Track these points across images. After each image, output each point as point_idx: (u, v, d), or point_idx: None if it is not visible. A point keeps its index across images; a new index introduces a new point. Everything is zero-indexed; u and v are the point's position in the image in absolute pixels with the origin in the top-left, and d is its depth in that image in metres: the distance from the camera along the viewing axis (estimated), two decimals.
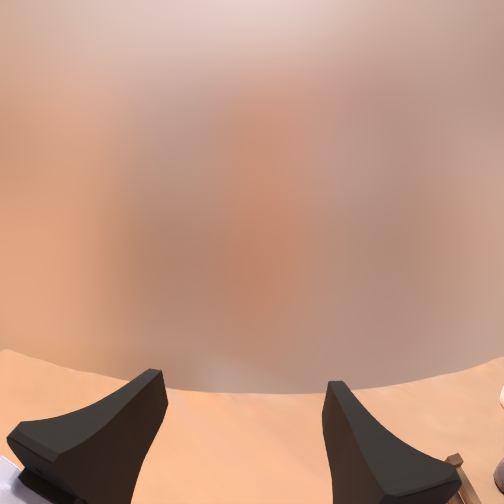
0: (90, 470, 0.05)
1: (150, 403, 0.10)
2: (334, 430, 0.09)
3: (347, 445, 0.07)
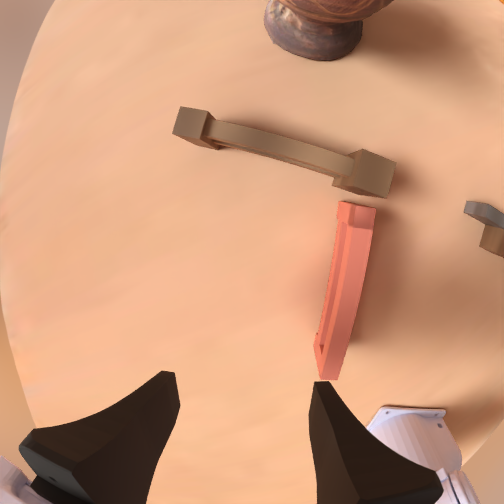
0: (107, 477, 0.05)
1: (164, 406, 0.10)
2: (318, 431, 0.09)
3: (329, 446, 0.07)
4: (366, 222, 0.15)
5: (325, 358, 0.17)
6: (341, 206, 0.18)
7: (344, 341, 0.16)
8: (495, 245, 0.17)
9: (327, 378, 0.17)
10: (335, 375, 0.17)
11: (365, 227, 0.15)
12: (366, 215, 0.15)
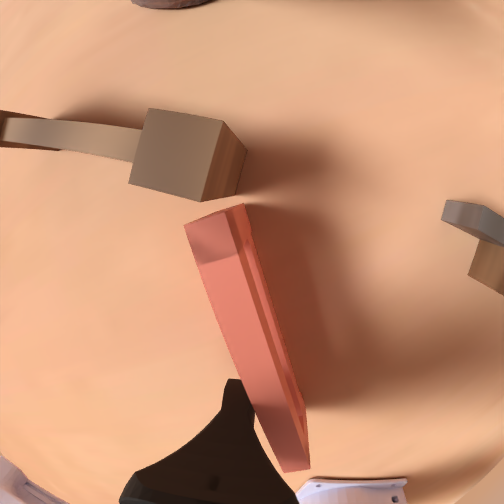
0: None
1: (251, 417, 0.09)
2: None
3: None
4: (218, 246, 0.08)
5: None
6: None
7: (289, 431, 0.09)
8: (494, 276, 0.10)
9: (293, 470, 0.10)
10: (303, 465, 0.10)
11: (220, 256, 0.08)
12: (211, 233, 0.08)
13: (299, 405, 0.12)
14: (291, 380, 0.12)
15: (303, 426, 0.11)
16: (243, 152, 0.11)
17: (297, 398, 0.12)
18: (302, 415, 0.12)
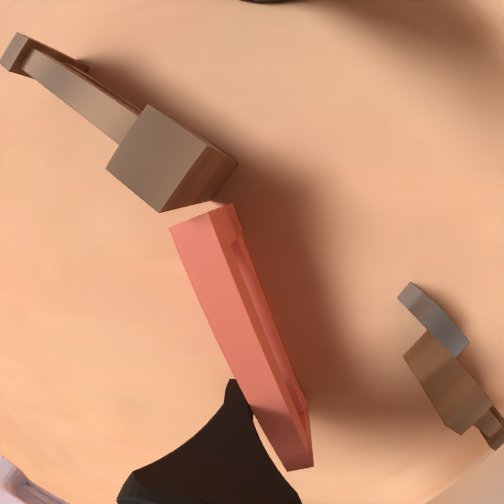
0: None
1: None
2: None
3: None
4: (203, 247, 0.08)
5: None
6: None
7: (288, 429, 0.09)
8: (425, 370, 0.11)
9: (296, 468, 0.10)
10: (306, 463, 0.09)
11: (206, 256, 0.08)
12: (196, 234, 0.08)
13: (300, 403, 0.12)
14: (290, 378, 0.12)
15: (305, 424, 0.11)
16: (232, 165, 0.11)
17: (297, 396, 0.12)
18: (304, 413, 0.12)
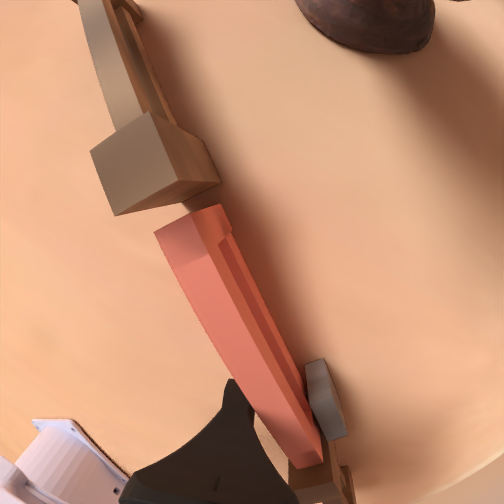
0: None
1: (250, 416, 0.09)
2: None
3: None
4: (188, 248, 0.08)
5: None
6: None
7: (293, 426, 0.09)
8: None
9: (306, 466, 0.10)
10: (315, 460, 0.09)
11: (192, 257, 0.08)
12: (180, 236, 0.08)
13: (305, 399, 0.12)
14: (293, 374, 0.11)
15: (312, 420, 0.11)
16: (212, 184, 0.11)
17: (302, 392, 0.12)
18: (310, 409, 0.12)
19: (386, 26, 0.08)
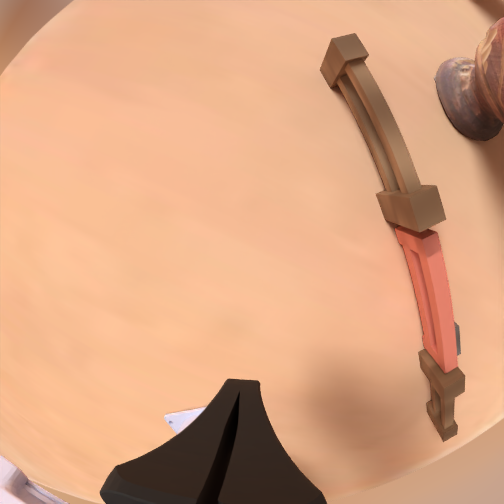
0: (210, 503, 0.05)
1: (237, 416, 0.09)
2: None
3: None
4: (434, 247, 0.15)
5: (443, 358, 0.16)
6: (401, 234, 0.18)
7: (452, 339, 0.16)
8: (432, 361, 0.19)
9: (450, 370, 0.16)
10: (455, 364, 0.16)
11: (435, 251, 0.15)
12: (432, 242, 0.15)
13: None
14: None
15: None
16: None
17: None
18: None
19: (486, 129, 0.15)
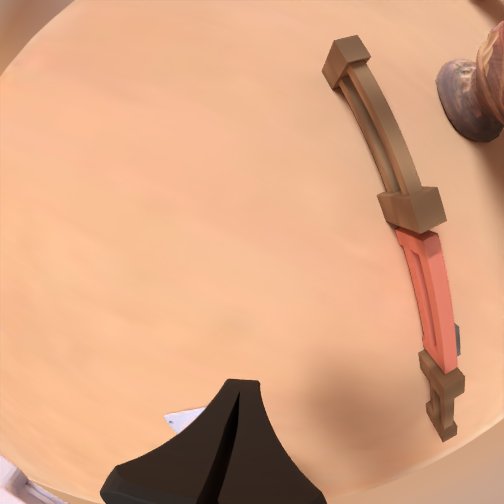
0: (210, 503, 0.05)
1: (237, 416, 0.09)
2: None
3: None
4: (435, 248, 0.15)
5: (443, 358, 0.16)
6: (402, 236, 0.18)
7: (452, 340, 0.16)
8: (432, 362, 0.19)
9: (450, 370, 0.16)
10: (454, 365, 0.16)
11: (436, 253, 0.15)
12: (433, 243, 0.15)
13: None
14: None
15: None
16: None
17: None
18: None
19: (486, 131, 0.15)
